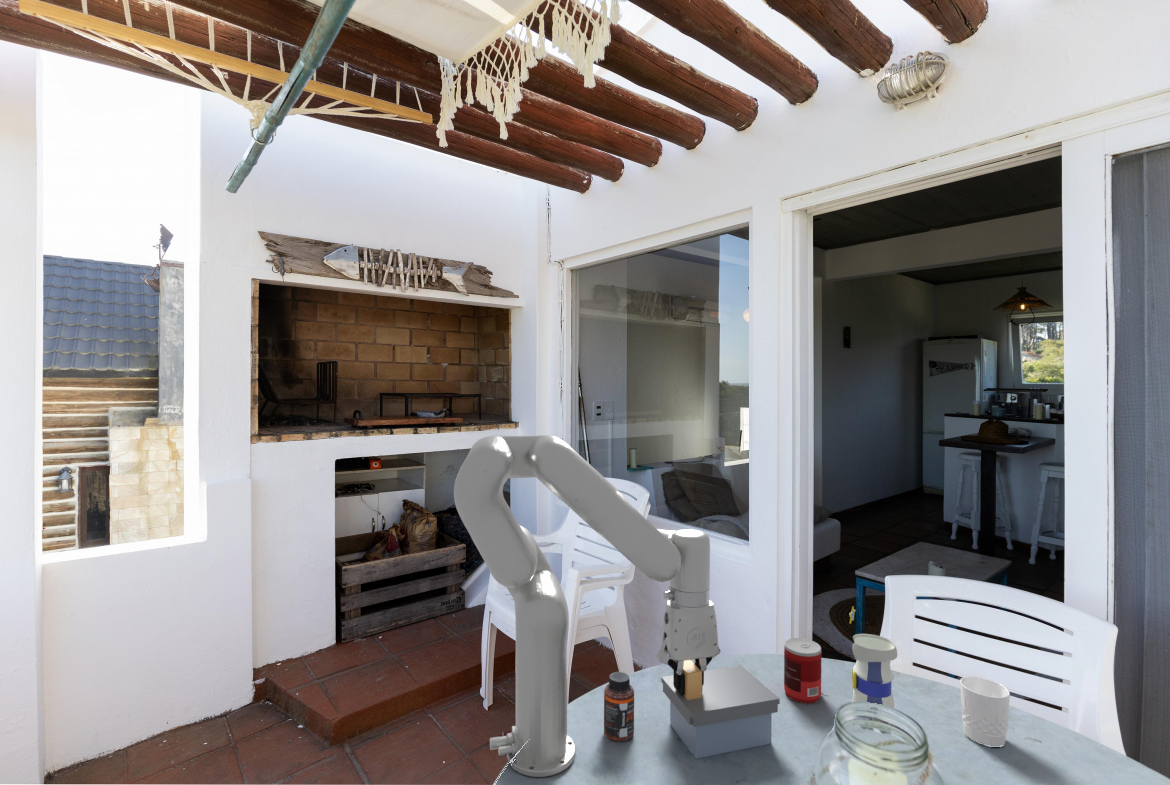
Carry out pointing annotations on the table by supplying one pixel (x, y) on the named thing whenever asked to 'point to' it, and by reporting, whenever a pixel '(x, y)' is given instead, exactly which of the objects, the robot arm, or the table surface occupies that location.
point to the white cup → (984, 710)
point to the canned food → (802, 670)
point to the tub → (721, 734)
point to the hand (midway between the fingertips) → (688, 689)
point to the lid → (719, 695)
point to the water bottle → (872, 668)
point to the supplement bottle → (619, 707)
